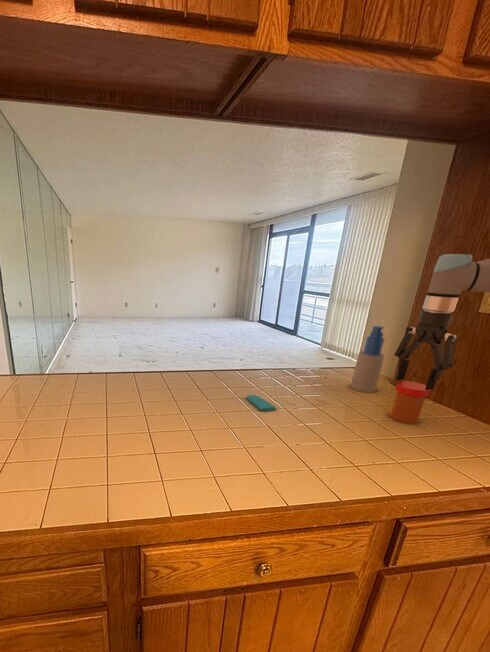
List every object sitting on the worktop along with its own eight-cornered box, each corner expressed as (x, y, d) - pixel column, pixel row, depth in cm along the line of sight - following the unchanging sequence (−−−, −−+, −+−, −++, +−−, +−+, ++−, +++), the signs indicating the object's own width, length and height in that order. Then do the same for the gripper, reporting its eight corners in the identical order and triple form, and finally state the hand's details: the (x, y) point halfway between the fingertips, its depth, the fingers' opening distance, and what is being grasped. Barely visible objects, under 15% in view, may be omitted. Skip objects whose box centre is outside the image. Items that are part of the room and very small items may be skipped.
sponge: (260, 394, 129) (246, 394, 127) (276, 407, 118) (261, 406, 117) (259, 398, 129) (245, 397, 128) (275, 411, 119) (260, 410, 117)
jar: (422, 421, 112) (433, 390, 108) (406, 425, 109) (417, 392, 105) (400, 412, 119) (409, 382, 114) (384, 415, 116) (393, 384, 112)
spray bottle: (380, 390, 138) (397, 327, 129) (364, 393, 135) (381, 329, 125) (360, 383, 146) (375, 323, 136) (345, 386, 143) (360, 325, 133)
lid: (393, 385, 116) (395, 379, 115) (425, 389, 113) (427, 383, 112) (398, 394, 108) (400, 387, 107) (432, 399, 105) (434, 392, 104)
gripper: (488, 316, 93) (458, 394, 102) (410, 306, 111) (390, 373, 120) (470, 317, 90) (441, 397, 99) (394, 306, 109) (375, 375, 117)
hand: (413, 384), depth 109 cm, fingers open, 9 cm apart
